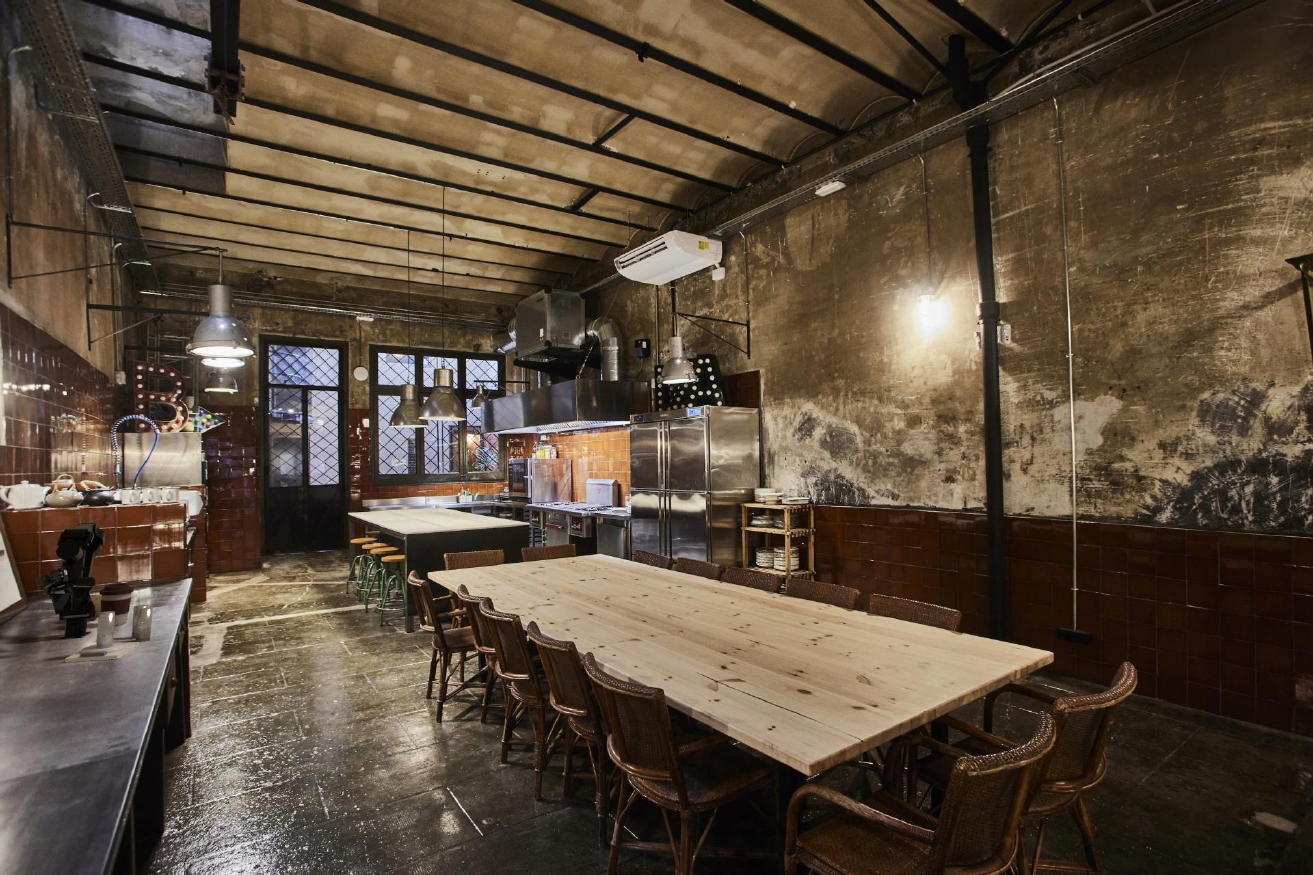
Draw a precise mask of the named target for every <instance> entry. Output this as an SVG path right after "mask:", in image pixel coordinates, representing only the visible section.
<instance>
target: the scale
mask: <svg viewBox="0 0 1313 875" xmlns="http://www.w3.org/2000/svg"><path fill="white" fill-rule="evenodd" d="M140 643H141V642H136V641H135V642H134V641H132V642H117V641H116V642H115V641H113V646H112V647H109V648H103V649H97V648H96V643H95V644H90V645H89V646H85V647H83V648H81V650H79V651H77V652H75V653H72V654H71V655H70V656H68V657H66V658H65V660H64V663H65V662H66V663H77V662H80V663H81V662H91V661H90V660H97V661H110V660H111V659H113V660H118V659H120V658H122V657H123V656H125V655H126V654H128V653H130V652H131V651H133V650H134V649H136V648H138V647H139V646H140ZM135 647H136V648H135ZM132 649H133V650H132ZM124 654H125V655H124ZM117 658H118V659H117ZM109 659H110V660H109Z"/></svg>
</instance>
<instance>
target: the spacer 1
mask: <svg viewBox="0 0 1313 875" xmlns="http://www.w3.org/2000/svg"><path fill="white" fill-rule="evenodd" d="M114 619H115V612H114V611H108V612H101V613H99V616H98V618H97V630H96V643H95V644H96V648H97V649H103V648H109V647H112V646H113V642H114V632H115V631H114V629H115V626H114Z"/></svg>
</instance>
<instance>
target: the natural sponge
mask: <svg viewBox="0 0 1313 875" xmlns="http://www.w3.org/2000/svg"><path fill="white" fill-rule="evenodd" d="M90 596H91V600H92V601H93V604H94V605H95V617H92V618H87V621H95V620H98V616H99V613H101V595H100V594H90ZM87 614H89V613H87Z"/></svg>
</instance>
